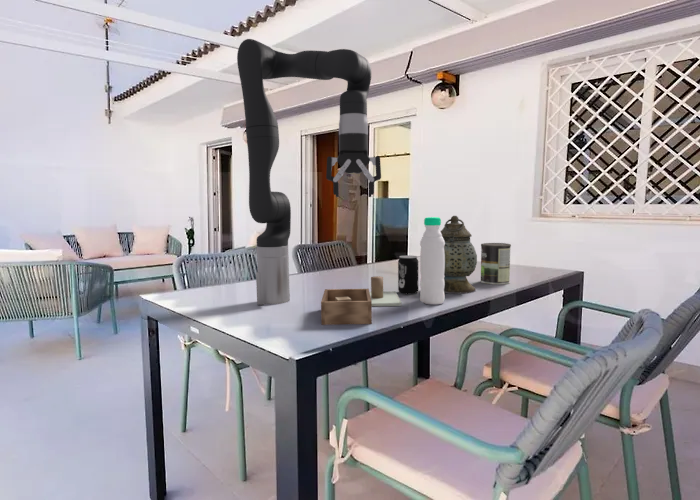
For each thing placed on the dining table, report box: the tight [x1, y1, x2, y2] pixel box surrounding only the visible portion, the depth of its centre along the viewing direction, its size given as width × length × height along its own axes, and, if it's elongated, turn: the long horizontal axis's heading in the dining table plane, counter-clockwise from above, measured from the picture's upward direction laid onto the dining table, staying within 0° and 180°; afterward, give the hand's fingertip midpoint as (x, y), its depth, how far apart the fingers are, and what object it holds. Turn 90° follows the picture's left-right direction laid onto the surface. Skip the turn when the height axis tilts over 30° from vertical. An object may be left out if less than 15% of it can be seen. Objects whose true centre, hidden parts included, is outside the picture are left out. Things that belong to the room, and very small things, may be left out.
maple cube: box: [335, 296, 351, 301], centre depth 114 cm, size 4×4×4 cm
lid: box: [369, 275, 403, 307], centre depth 127 cm, size 13×17×8 cm
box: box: [320, 288, 373, 326], centre depth 109 cm, size 12×16×6 cm
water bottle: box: [419, 216, 445, 306], centre depth 124 cm, size 7×7×25 cm
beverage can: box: [397, 254, 419, 295], centre depth 140 cm, size 7×7×12 cm
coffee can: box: [480, 242, 512, 286], centre depth 155 cm, size 10×10×14 cm
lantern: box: [440, 215, 478, 295], centre depth 142 cm, size 14×14×25 cm
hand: (353, 197), depth 112 cm, fingers open, 8 cm apart
